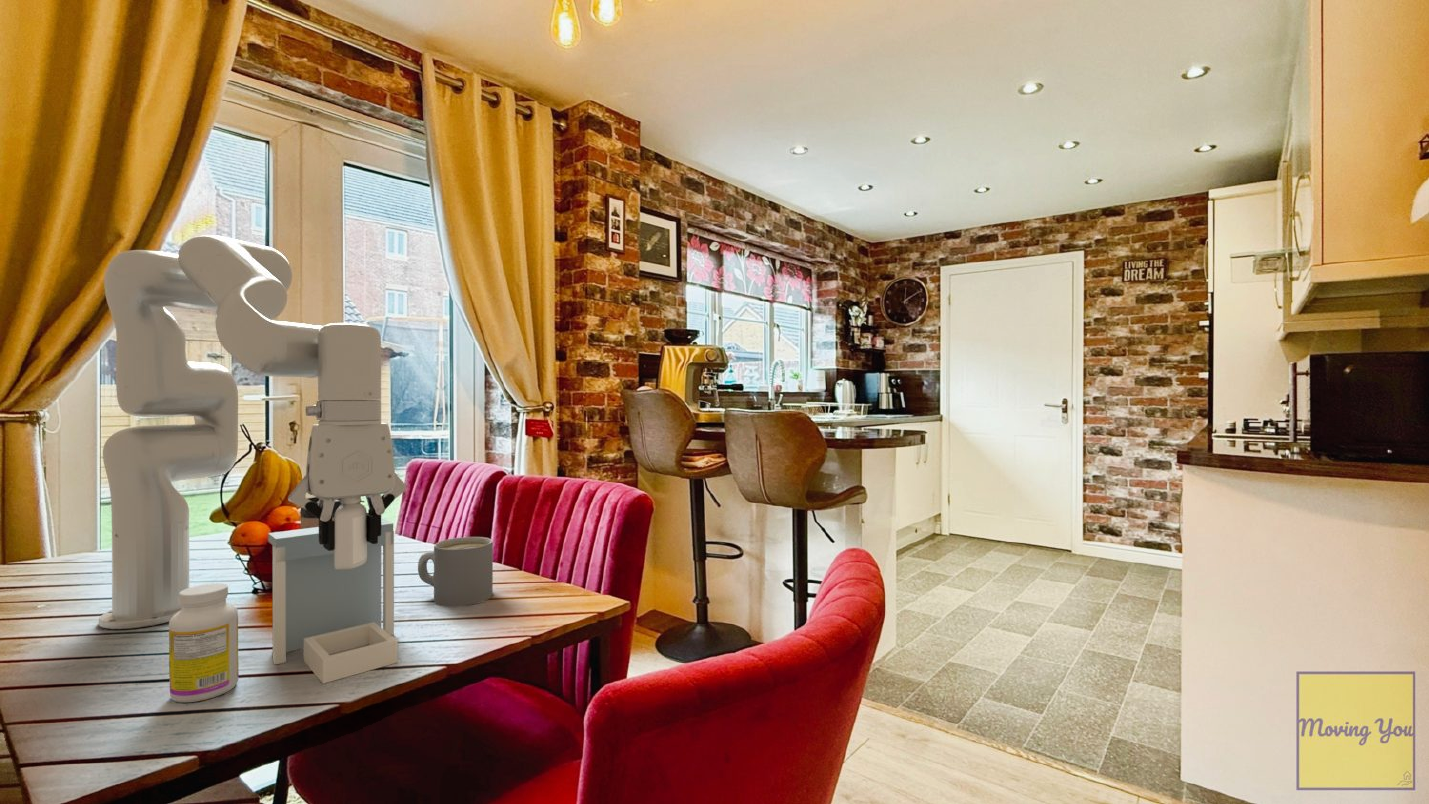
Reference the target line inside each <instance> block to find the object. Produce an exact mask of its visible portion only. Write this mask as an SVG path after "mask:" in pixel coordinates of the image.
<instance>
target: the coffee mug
mask: <svg viewBox="0 0 1429 804" xmlns="http://www.w3.org/2000/svg"><path fill="white" fill-rule="evenodd" d="M493 547H494V546H493V539H491V538H489V537H484V536H464V537H463V536H462V537H455V538H447V539H444V540H440V541H438V542H436V543H435V544H434V546H433V550H430V551H427V552H424V553H423V554H422V555H421V556H420V557H419V559H418V563H417V564H418V565H417V571H418V577H419V578H420V580H421V581H422V582H424V584H427V585H429V586H431V587H433V602H434V604H436V605H439V606H442V607H452V608H454V607H466V606H472V605H476V604H480V603H483V602H485V601H487V600H490V599H491V598H492V597H493V595H494V594H493V591H494V590H493V587H494V586H493V582H494V581H493V580H494V579H493V577H494V575H493V571H494V569H493V564H494V563H493V562H494V561H493V560H494V557H493V556H494V555H493V552H494V551H493V549H494V548H493ZM429 560H431V561H432V562H433V575H431V574H430V573H429V571H428V565H427V564H428V561H429Z"/></svg>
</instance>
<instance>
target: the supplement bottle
mask: <svg viewBox="0 0 1429 804" xmlns="http://www.w3.org/2000/svg"><path fill="white" fill-rule="evenodd" d="M228 595H229V586H228V584H227V583H208V584H200V585H196V586H191V587H189V588H187V589H185V590H182V591H181V592H180V593H179V603H180V605H181V606H182V610H181V611H179V612H178V613H176V614H175V615H174V616H173V617H172V618H171V620H170V622H168V647H169V648H168V649H169V650H168V652H169V653H168V656H169V657H168V663H169V668H168V669H169V672H168V673H169V696H170V698H171V700H173V701H174V702H177V703H195V702H202V701H205V700H209V699H213V698H215V697H219V696H221V695H224V694H225V693H227V692H229V691H230V690H232V689H233V688H234V687H236V685H237V684H238V682H239V672H240V671H239V667H240V666H239V611H238V610H239V609H238V608H237V607H236V606H235V605H234V604H232V603H229V602H227V598H228Z"/></svg>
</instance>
